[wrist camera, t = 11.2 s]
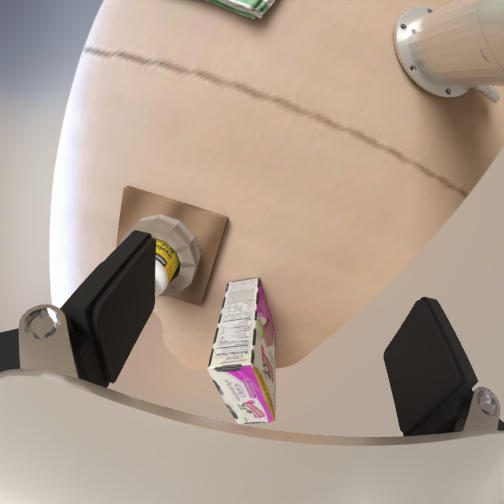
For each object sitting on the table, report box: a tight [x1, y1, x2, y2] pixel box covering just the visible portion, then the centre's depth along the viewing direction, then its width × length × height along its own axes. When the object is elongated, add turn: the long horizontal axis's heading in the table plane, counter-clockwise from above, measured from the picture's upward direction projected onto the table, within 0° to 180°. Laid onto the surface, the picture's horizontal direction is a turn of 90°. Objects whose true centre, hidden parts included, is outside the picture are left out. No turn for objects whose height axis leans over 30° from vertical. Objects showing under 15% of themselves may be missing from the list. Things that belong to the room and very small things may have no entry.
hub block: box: [116, 186, 228, 306], centre depth 38 cm, size 14×14×4 cm
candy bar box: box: [207, 277, 276, 424], centre depth 36 cm, size 11×5×16 cm, turn 15°
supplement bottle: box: [152, 237, 180, 297], centre depth 34 cm, size 5×5×10 cm
